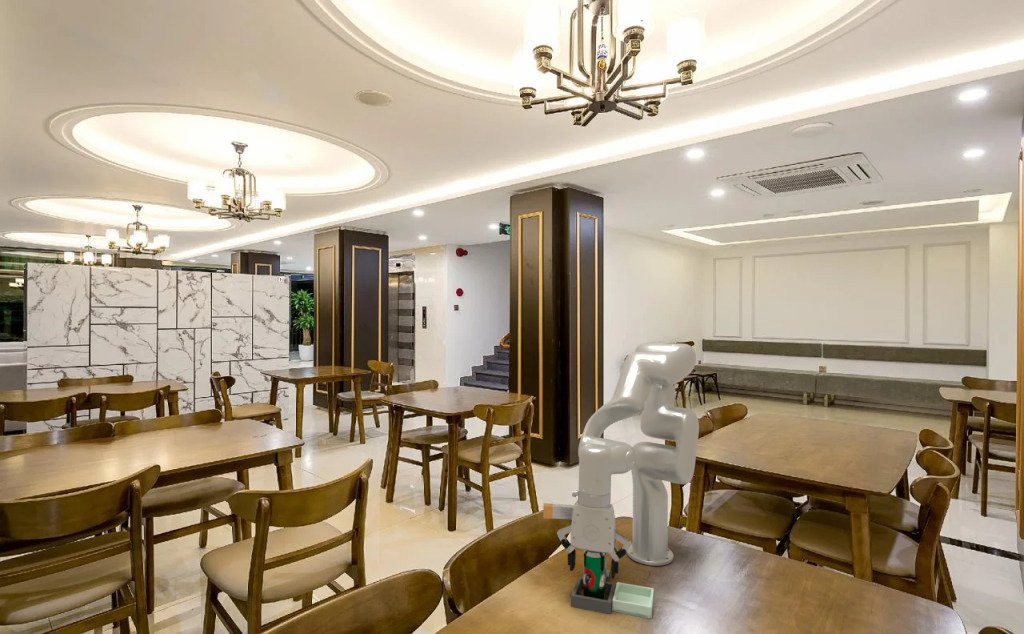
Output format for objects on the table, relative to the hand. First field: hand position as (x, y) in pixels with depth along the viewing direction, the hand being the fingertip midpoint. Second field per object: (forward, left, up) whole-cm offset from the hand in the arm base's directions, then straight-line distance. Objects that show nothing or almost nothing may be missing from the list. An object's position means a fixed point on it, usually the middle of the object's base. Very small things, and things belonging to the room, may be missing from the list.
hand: (592, 572), depth 117 cm
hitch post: (-10, 0, -7) cm, 12 cm away
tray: (-2, +9, -7) cm, 12 cm away
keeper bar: (-11, -6, +8) cm, 15 cm away
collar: (-1, 0, -7) cm, 7 cm away
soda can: (-1, 0, -7) cm, 7 cm away
